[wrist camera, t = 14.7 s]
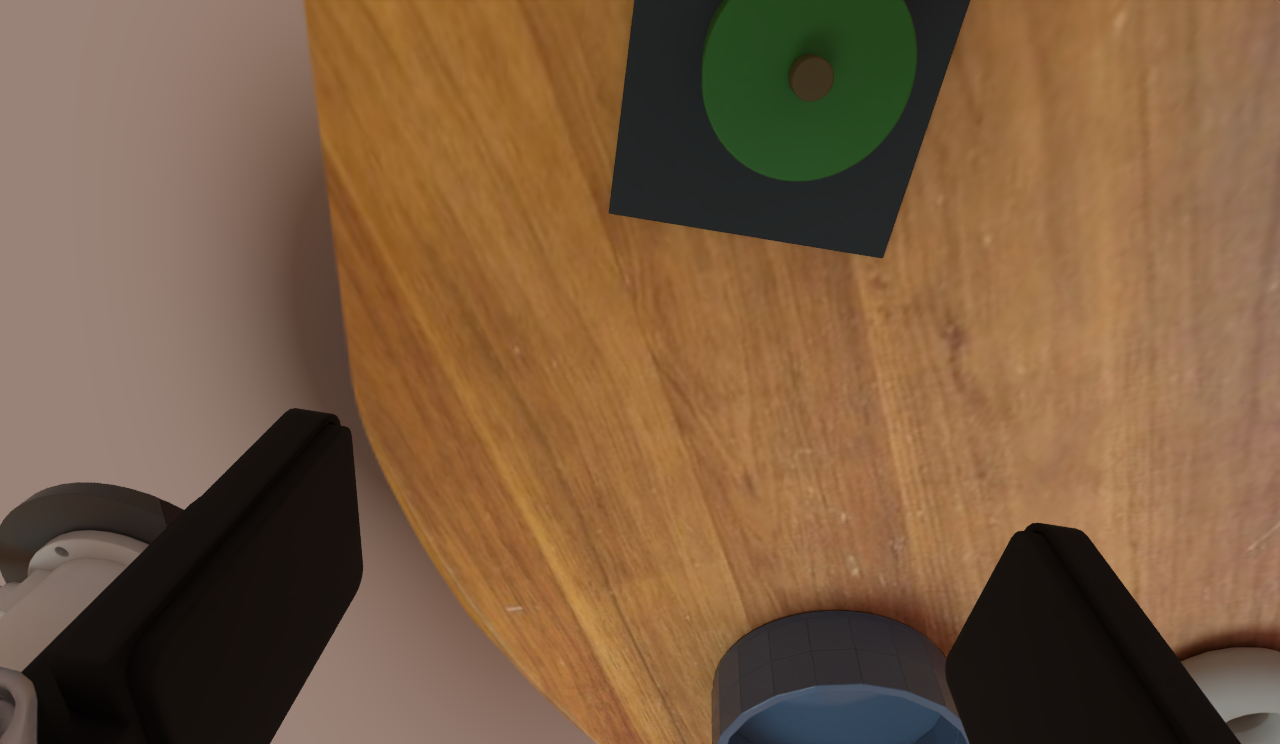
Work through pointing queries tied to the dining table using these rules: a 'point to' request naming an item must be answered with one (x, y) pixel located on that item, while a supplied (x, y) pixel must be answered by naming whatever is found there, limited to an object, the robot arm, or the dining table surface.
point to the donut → (1242, 690)
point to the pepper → (807, 81)
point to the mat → (722, 186)
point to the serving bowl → (834, 684)
